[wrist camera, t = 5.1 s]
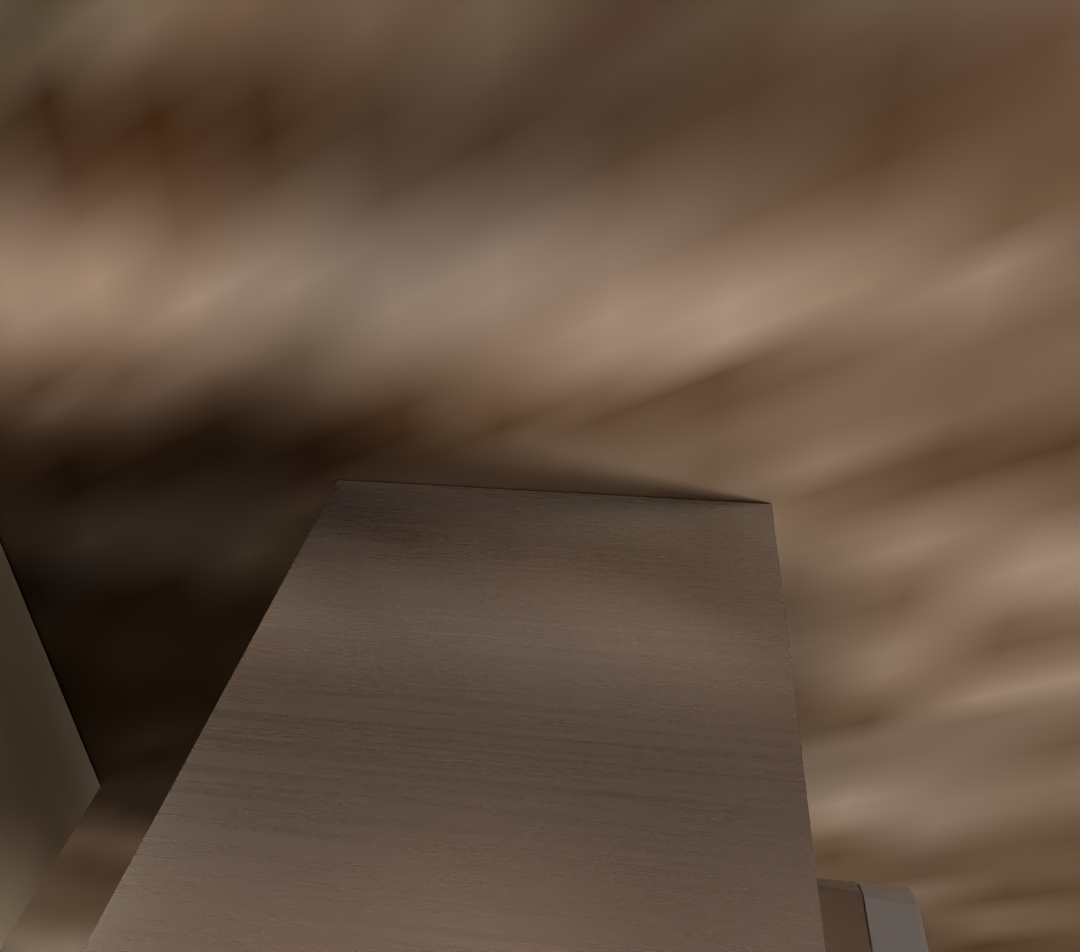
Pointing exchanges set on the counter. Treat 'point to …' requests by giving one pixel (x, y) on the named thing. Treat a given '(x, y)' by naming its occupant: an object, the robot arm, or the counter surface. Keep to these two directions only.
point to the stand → (33, 759)
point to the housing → (496, 741)
